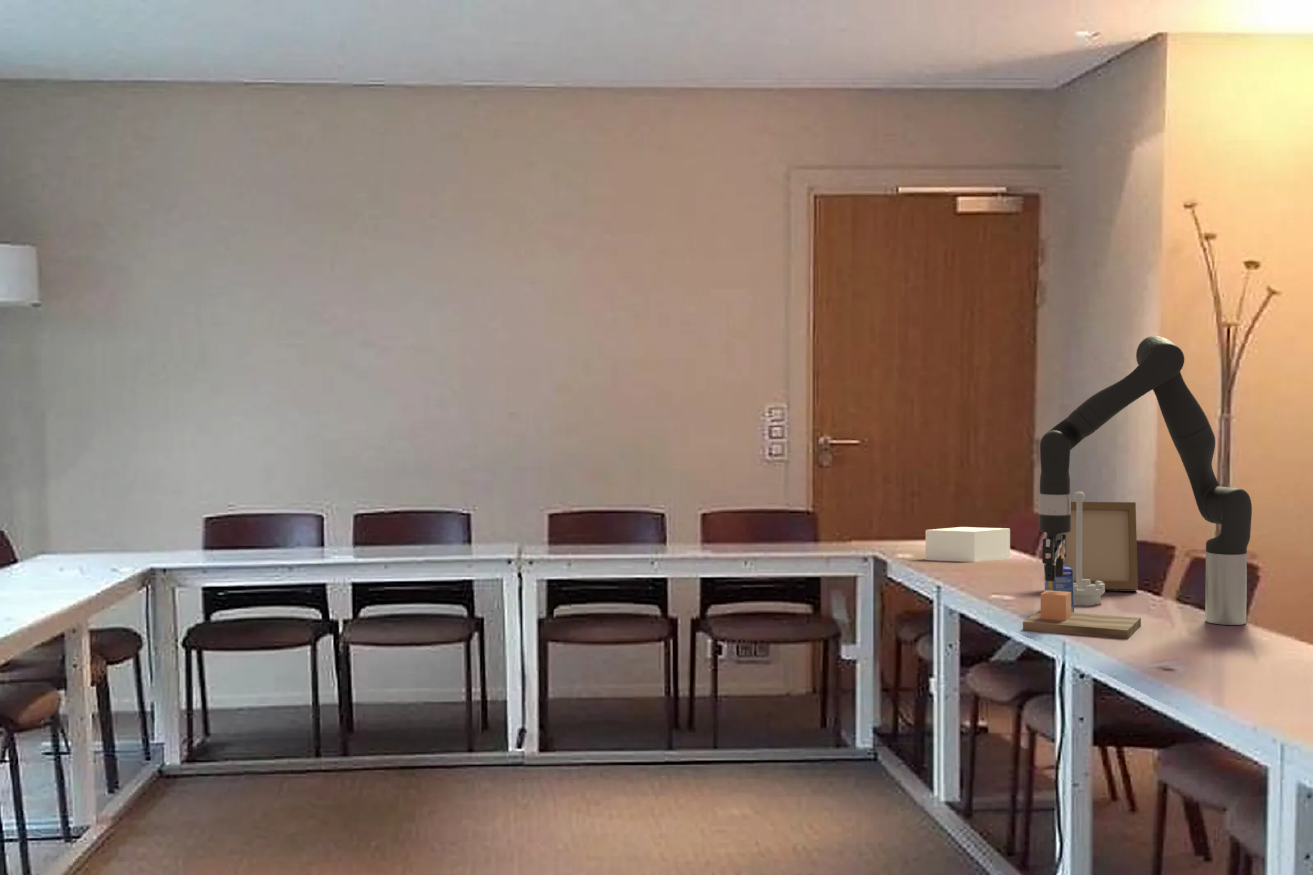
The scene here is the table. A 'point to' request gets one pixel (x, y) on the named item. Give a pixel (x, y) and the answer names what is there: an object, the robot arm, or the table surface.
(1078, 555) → the flag stand
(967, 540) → the white rectangular box
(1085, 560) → the photo frame
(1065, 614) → the orange cube
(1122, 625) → the base plate
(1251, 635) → the table surface
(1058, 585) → the ink cartridge box
